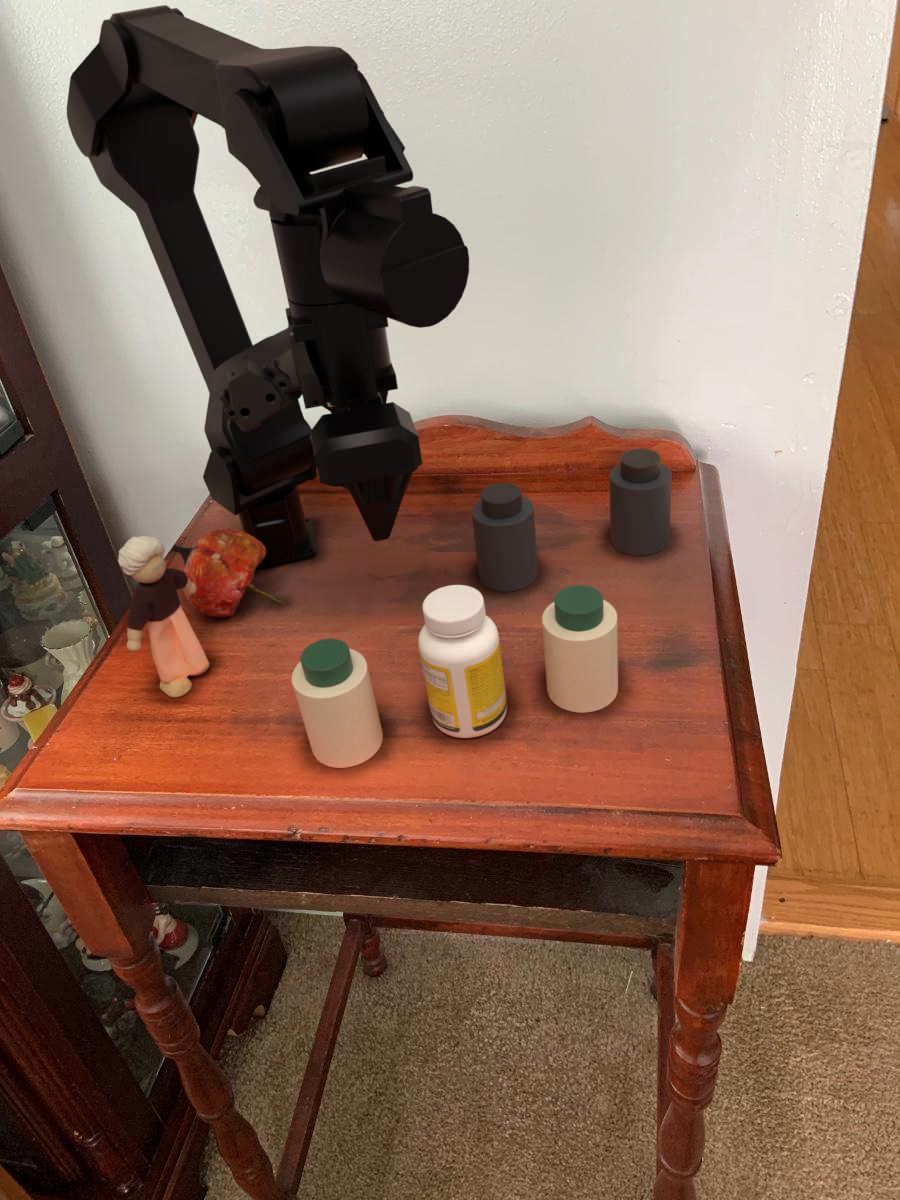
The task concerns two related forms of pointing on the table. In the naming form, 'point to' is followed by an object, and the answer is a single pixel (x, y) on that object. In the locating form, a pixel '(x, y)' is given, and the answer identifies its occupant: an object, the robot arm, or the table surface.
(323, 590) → the table surface
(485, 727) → the supplement bottle
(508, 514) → the grey bottle left
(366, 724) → the cream bottle
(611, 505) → the grey bottle right
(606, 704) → the cream bottle
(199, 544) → the red orange flower
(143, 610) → the grandmother figurine
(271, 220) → the robot arm
